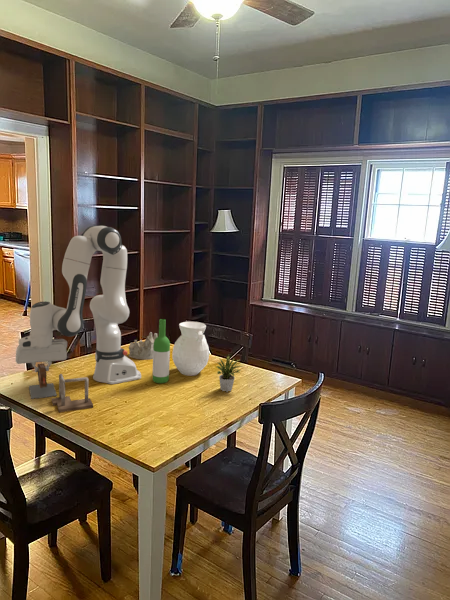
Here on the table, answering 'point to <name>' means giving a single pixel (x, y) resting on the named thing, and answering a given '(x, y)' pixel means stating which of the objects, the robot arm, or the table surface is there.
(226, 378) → the house plant
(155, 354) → the wine bottle
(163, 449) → the table surface
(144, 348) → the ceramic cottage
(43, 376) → the tin
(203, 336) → the white ceramic vase
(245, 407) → the table surface
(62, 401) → the buzz wire frame
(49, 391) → the mat
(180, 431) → the table surface
